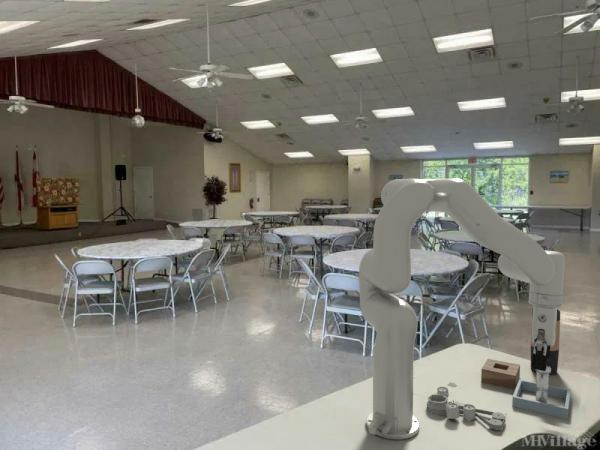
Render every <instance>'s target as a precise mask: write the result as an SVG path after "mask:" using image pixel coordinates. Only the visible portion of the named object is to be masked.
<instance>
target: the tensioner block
mask: <svg viewBox="0 0 600 450" xmlns="http://www.w3.org/2000/svg"><path fill="white" fill-rule="evenodd" d="M480 371H481V374H480V382H481V383H483V384H487V385H492V386H495V387H501V388H506V389H511V390H514V391H515V389H516V387H517V384H518V382H519V379H520V376H521V365H520V364H518V363H512V362H507V361H502V360H497V359H492V358H487V359H486V360H485V362H484V364H483V365H482V367H481V370H480Z"/></svg>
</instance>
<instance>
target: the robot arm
mask: <svg viewBox="0 0 600 450" xmlns="http://www.w3.org/2000/svg"><path fill="white" fill-rule="evenodd" d="M380 197H381V198H380V201H381V203H382V204H383V206H382V207H381V209H380V211H379V212H378V215H377V216H376V218H375V220H374V226H373V243H372V244H373V245H372V246H373V247H372V248H373V249H370V250H368V251H367V252H366V253H365V254H364V255H363V257H362V258H361V260H360V263H359V268H358V286H359V289H358V290H359V306H360V312H361V315H362V318H363V319H364V320H365V321H366V323H368V324H369V325H370V326H371V327H372V328H373V329H374V330H375V331H376V336H375V339H374V340H375V341H374V344H373V350H372V411H371V413H369V414H368V415H367V416H366V420H365V421H366V427H367V429H368V433H369V434H370V435H377V436H378V437H380V438H384V439H389V440H406V439H410V438H412V437H414V436H416V435H417V434H418V433H419V431H420V422H419V420H418V418H416V417H415V415H413V413H414V357H415V356H414V355H415V353H414V352H415V341H416V337H417V332H418V325H419V323H418V316H417V313H416V311H415V310H414V308H413V307H412V306H411V305H410V304H409V303H408V302H407V301H406V300H403V299H401V298H400V297H398V296H396V294H402V293H403V292H404V291H406V290H407V289H408V287H409V286H410V283H411V279H412V261H411V237H412V231H413V227H414V225H415V223H416V222H417V221H418V220H419V218H420V217H421V216H422V215H423V214H425V213H427V212H428V213H429V212H430V213H433V212H437V213H439V212H440V213H445V214H447V215H448V216H449V217H450V218H451V220H453V222H454V223H456V224H457V225H458V227H460V228H461V229H462V231H464V233H465V234H466V235H467V236H469V238H470V239H471V240H473V241H474V242H475V243H477V244H479V245H481V247H484V248H486V249H487V250H491V251H493V252H495V253H497V254H499V255H500V256H499V257H498V260H497V266H498V270H499V271H500V272H501V273H502V274H503V275H504V276H506V277H507V278H510V279H513V280H517V281H521V282H524V283H527V284H529V293H528V295H529V296H528V304H530V305H532V307H533V308H532V309H533V320H532V319H531V330H532V342H533V343H534V351H533V355H532V368H533V369H537V370H541V371H546V364H547V359H549V358H550V347H553V346H554V343H555V339H556V323H557V310H558V309H559V308H562V307H563V305H562V304H563V295H564V294H563V292H564V278H565V266H566V265H565V264H566V257H565V255H564V254H563V253H562V252H559V251H556V250H555V251H554V250H546V249H545V250H544V248H543V247H542V246H541V245H540V244H539V243H538V242H537V241H536V240H535V239H534V238H532V237H530V235H528V234H527V233H526V232H524V231H523V230H521V229H519V228H518V227H516V226H515V225H514V224H512V223H511V222H509V221H508V220H506V219H504V218H503V217H501V216H500V215H499V214H498V213H497V212H496V210H495V209H494V208H493V207H492V206H491V205H490V204H489V203H488V202H487V201H486V200H485V199H484V198H483V197H482V195H481V194H480V193H479V192H478V191H477V190H476V189H475V188H474V187H473V186H472V185H471V184H470V183H469V182H468V181H466V180H464V179H461V178H432V179H431V178H429V179H420V178H396V179H392V180H390V181H388V182H387V183H386V184H385V185H384V186H383V188H382V190H381V194H380Z"/></svg>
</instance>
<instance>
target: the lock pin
mask: <svg viewBox="0 0 600 450" xmlns="http://www.w3.org/2000/svg"><path fill="white" fill-rule="evenodd" d="M535 370H536V371H537V373H536V381H535V383H536V393H535V401H539V402H544V403H548V400H549V395H548V385H549V380H550V378H549V377H550V376H549V373H551V368H550V367H549V366H547V365H546V371H541V370H537V369H535ZM548 404H549V403H548Z"/></svg>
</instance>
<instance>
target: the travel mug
mask: <svg viewBox="0 0 600 450" xmlns="http://www.w3.org/2000/svg"><path fill="white" fill-rule="evenodd" d="M531 313H532V314H531V321H532V320H533V308H532V312H531ZM560 329H561V310H559V309H557V323H556V339H555V343H554V346H553V347H550V358H549V359H547V364H546V365H547V366H549V367H550V368H551V373H549V377H550V376H556V375H557V374H558V368H559V367H558V365H559V354H560V333H561V332H560V331H561V330H560ZM530 334H531V335H530V371H532V372H534V373H535V374H537V371H536V370H535V369H533V368H532V355H533V351H534V343H533V342H532V329H531V332H530Z"/></svg>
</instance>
